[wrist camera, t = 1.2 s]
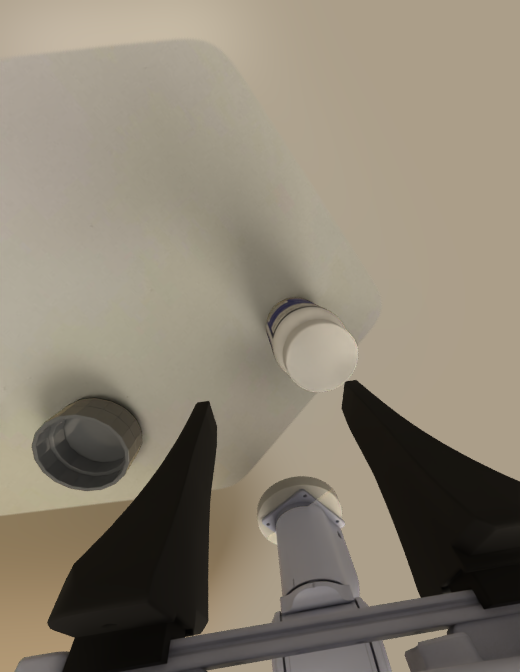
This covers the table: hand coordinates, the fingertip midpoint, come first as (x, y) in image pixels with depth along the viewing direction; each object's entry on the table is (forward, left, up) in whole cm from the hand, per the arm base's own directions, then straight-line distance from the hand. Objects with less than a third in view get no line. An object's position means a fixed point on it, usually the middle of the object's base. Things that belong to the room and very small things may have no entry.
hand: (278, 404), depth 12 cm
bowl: (+5, +21, -12) cm, 25 cm away
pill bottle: (-1, -3, -13) cm, 13 cm away
